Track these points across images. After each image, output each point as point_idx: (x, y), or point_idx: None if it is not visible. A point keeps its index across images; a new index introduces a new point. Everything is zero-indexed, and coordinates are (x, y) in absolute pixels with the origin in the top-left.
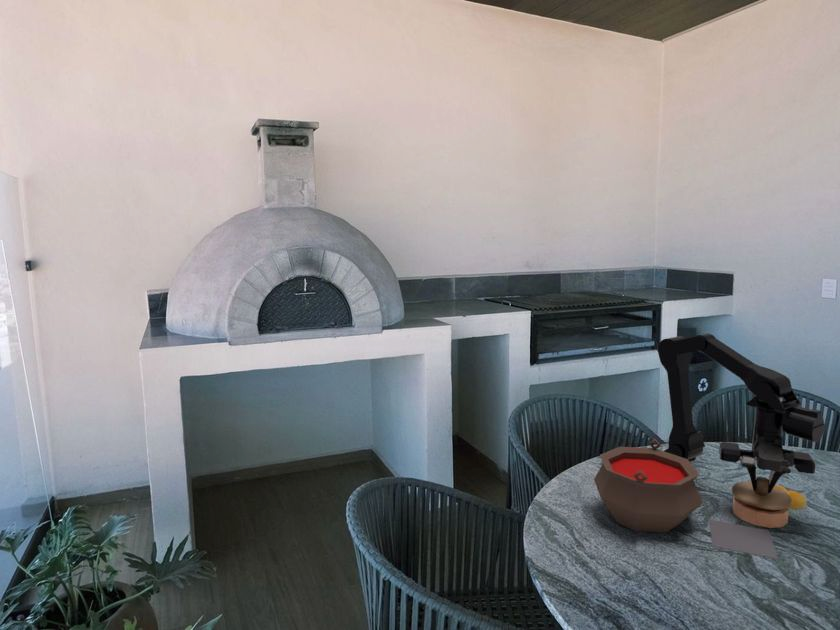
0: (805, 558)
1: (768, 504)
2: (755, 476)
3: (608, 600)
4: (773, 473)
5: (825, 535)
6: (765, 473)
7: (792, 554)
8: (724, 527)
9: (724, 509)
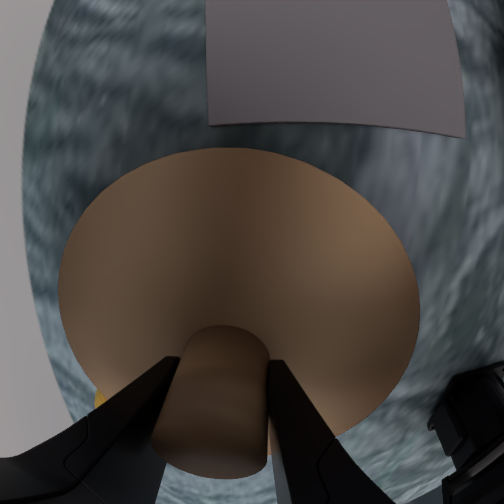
0: (105, 7)
1: (179, 165)
2: (290, 467)
3: None
4: (78, 498)
5: (35, 230)
6: (214, 496)
7: (141, 3)
8: (413, 74)
9: None
